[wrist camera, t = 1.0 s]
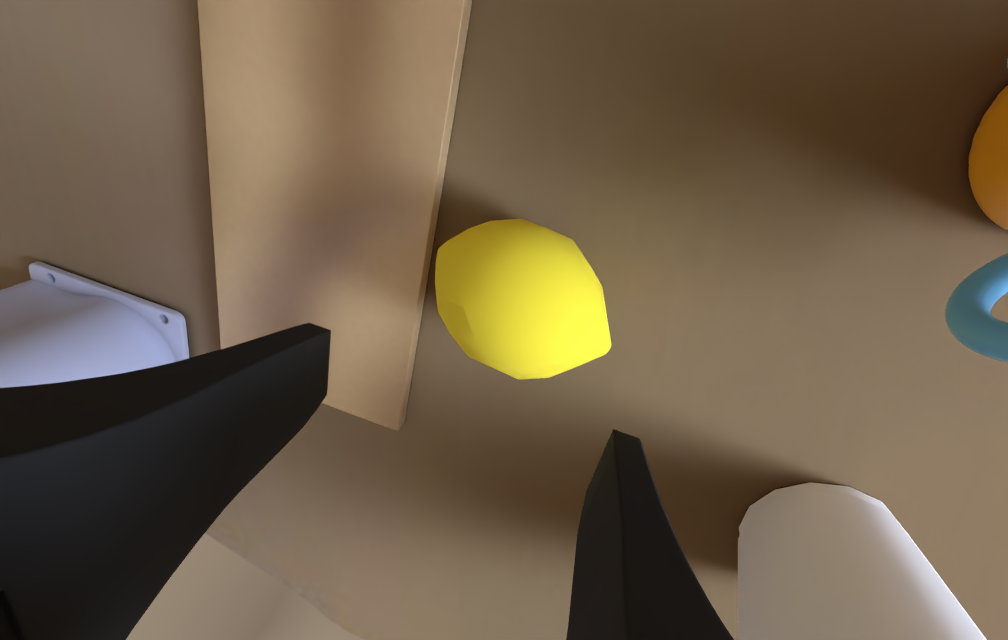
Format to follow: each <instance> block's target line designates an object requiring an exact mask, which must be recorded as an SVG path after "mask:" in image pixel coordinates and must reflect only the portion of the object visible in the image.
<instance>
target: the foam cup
mask: <svg viewBox="0 0 1008 640" xmlns="http://www.w3.org/2000/svg"><path fill="white" fill-rule="evenodd" d="M739 534H740V536H739V538H738V640H987V639H986V638H985V637H984V635H983V634H982V633H981V631H980V630H979V629H978V627H977V626H976V625H975V623H974V622H973V621H972V619H971V618H970V617H969V615H968V614H967V612H966V611H965V610H964V608H963V607H962V606H961V604H960V603H959V602H958V600H957V599H956V598H955V596H954V595H953V594H952V592H951V591H950V590H949V588H948V587H947V586H946V584H945V583H944V582H943V580H942V579H941V578H940V576H939V575H938V573H937V572H936V571H935V569H934V568H933V567H932V565H931V564H930V563H929V561H928V560H927V559H926V557H925V556H924V555H923V553H922V552H921V551H920V549H919V548H918V547H917V545H916V544H915V543H914V541H913V540H912V538H911V537H910V536H909V535H908V533H907V532H906V531H905V530H904V529H903V527H902V526H901V524H900V523H899V522H898V521H897V520H896V518H895V517H894V516H893V515H892V513H891V512H890V511H889V510H888V509H887V507H886V506H885V505H884V504H883V503H882V502H881V501H879V500H877V499H875V498H873V497H871V496H869V495H866V494H864V493H862V492H860V491H858V490H856V489H853V488H851V487H849V486H840V485H831V484H821V483H812V482H809V483H805V484H800V485H795V486H790V487H785V488H781V489H776V490H773V491H772V492H770V493H769V494H767V495H766V496H764V497H763V498H761V499H760V500H758V501H757V502H755V503H753V504H752V505H750V506H749V508H748V510H747V512H746V514H745V516H744V518H743V520H742V522H741V524H740V526H739Z"/></svg>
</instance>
